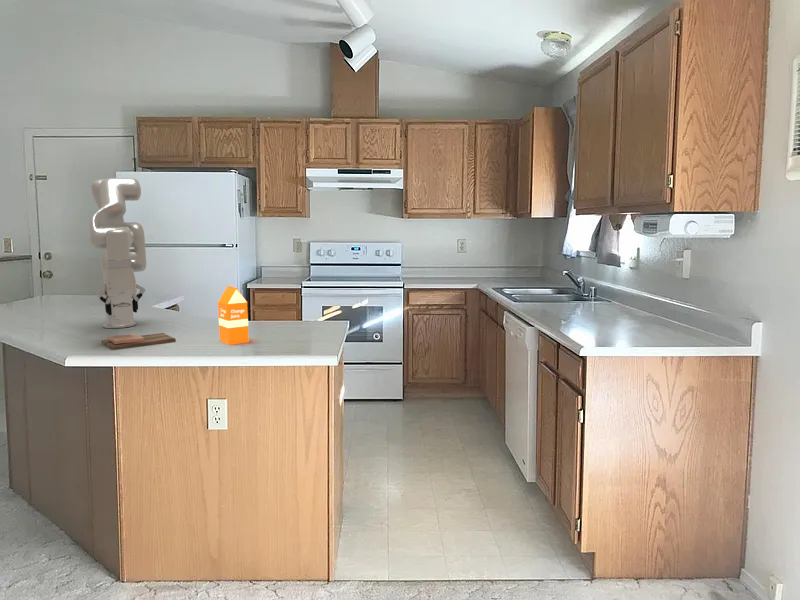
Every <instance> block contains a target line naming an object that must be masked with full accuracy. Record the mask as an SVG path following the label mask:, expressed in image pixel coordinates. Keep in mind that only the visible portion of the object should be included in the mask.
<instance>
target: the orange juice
mask: <svg viewBox="0 0 800 600" xmlns="http://www.w3.org/2000/svg"><path fill="white" fill-rule="evenodd" d="M217 305H218V327H219V328H218V329H219V341H220V342H221V343H224V344H227V345H228V346H229V345H230V346H231V345H237V344H245V343H249V342H250V341H249V339H250V337H249V319H248V318H249V316H248V315H249V314H248V301H247V300H246V299H245V297H244V296H243V295H242V292H240V291H239V290H238V288H237V287H234V286H230V285H227V287H226V288H225V290H224V291H223V293H222V295H221V296H220V298H219V299H218V302H217Z"/></svg>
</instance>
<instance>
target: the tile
mask: <svg viewBox="0 0 800 600" xmlns="http://www.w3.org/2000/svg"><path fill="white" fill-rule="evenodd" d="M107 340H109V341H111V342H113V343H114V344H121V343H132V342H143V341H145V338H144V337H142V335H139V334H137V333H131V334H119V335H107Z"/></svg>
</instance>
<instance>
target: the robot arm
mask: <svg viewBox="0 0 800 600" xmlns="http://www.w3.org/2000/svg"><path fill="white" fill-rule="evenodd" d="M90 186H91V188H90V189H91V193H92V196H93V199H94V201H95V203H96V206H97V207H98V210H97V211H96V212H94V214H93V215H92V217H91V218H90V221H89V239H90V243H91V246H92V247H94V249H99V250H101V249H102V250H103V249H106V250H104V251H102V252H101V254H100V256H99V263H100V268H101V271H102V279H103V286H102V287H101V288H99V289H98V290H97V291H95V295H96V296H97V298H98V300H100V301H101V302H103V303H104V305H105V307H104V309H105V316H106V317H105V318H106V319H105V320H106V322H105V323H103V324H102V327H103V328H104V329H105V328H106V329H123V328H130V327H134V326H136V324H137V322H136V321H134V324H132V325H117V326H112V322H111V315H112V312H111V304H110V301H111V299H110V297H116V296H117V295H118V294H119V293H120V292H121V291H124V290H132V305H133V313H138V310H139V301H140V299H141V298H142V297H143V295H144V293H145V291H146V288H145V287H143V286H141V285H139V284H137V281H136V276H135V273H138V272H139V273H141V272H144V271H145V270H146V267H147V253H146V239H145V231H144V227H143V225H142V224H141V223H140V222H135V221H134V222H131V221H130V222H129V221H127V222H125V220H124V219H125V218H124V216H125V215H126V212H127V208H126V207H127V206H126V201H139V200H140V198H141V195H142V188H141V184H140V182H139V181H138V179H136V178H132V177H109V178H100V179H96V180H94V181H92V182H91V185H90ZM130 247H133V248H130ZM137 289H138V290H139V292H138V291H137ZM137 292H138V293H137ZM103 293H104V296H103V295H102V294H103Z"/></svg>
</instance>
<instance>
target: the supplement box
mask: <svg viewBox="0 0 800 600" xmlns="http://www.w3.org/2000/svg"><path fill="white" fill-rule="evenodd" d="M110 299H111V301H110V304H111V312H112V315H111V322H112V326H117V325H132V324H134V319H135V318H134V312H133V305H132V300H133V298H132V290H124V291H121V292H120V293H119V294H118V295H117V296H116V297H110Z"/></svg>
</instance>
